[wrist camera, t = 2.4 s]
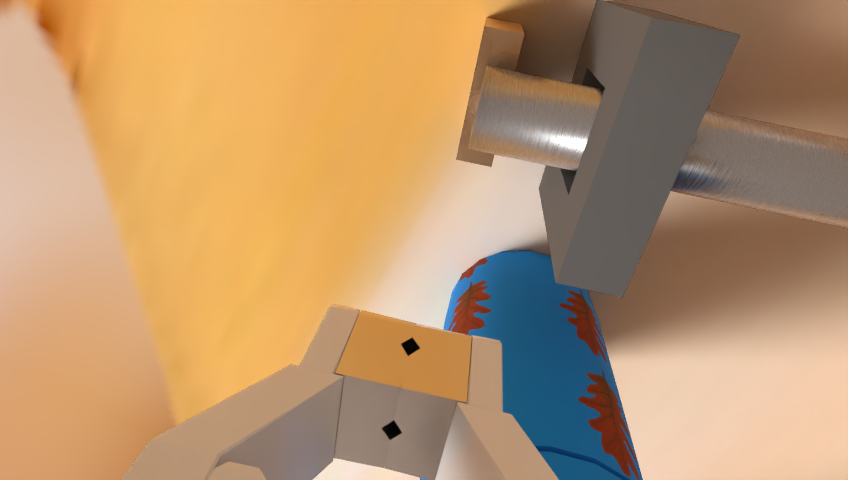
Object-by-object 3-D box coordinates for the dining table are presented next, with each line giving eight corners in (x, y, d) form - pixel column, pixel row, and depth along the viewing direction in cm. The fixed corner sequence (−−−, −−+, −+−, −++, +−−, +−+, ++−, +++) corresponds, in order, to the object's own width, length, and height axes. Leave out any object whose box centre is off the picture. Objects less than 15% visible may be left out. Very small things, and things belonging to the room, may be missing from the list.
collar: (585, 198, 32) (622, 297, 22) (538, 188, 32) (555, 283, 22) (653, 10, 27) (740, 34, 17) (596, -1, 27) (651, 17, 17)
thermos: (525, 219, 35) (568, 642, 13) (623, 314, 37) (795, 800, 16) (419, 305, 39) (319, 723, 18) (512, 384, 42) (526, 834, 20)
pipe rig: (981, 241, 31) (1145, 334, 23) (462, 133, 33) (449, 187, 25) (1070, 133, 28) (1297, 199, 20) (486, 17, 29) (482, 36, 21)
